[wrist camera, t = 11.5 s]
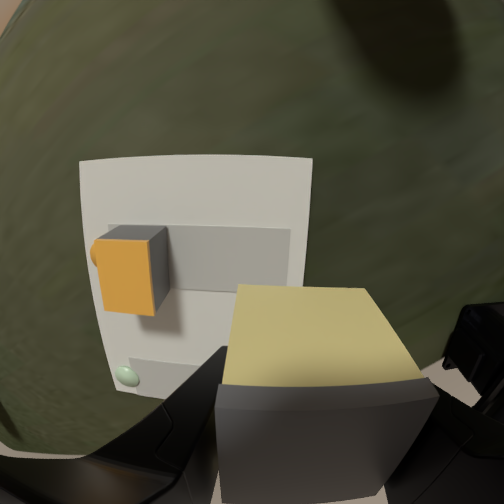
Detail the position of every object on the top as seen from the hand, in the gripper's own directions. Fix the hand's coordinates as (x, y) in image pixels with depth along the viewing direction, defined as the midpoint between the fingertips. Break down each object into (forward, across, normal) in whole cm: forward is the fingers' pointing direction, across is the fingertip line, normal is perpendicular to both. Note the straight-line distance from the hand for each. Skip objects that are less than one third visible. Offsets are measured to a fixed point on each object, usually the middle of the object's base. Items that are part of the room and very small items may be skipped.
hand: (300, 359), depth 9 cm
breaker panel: (+11, +6, +3) cm, 13 cm away
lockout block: (+1, 0, 0) cm, 1 cm away
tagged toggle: (+9, +8, 0) cm, 12 cm away
